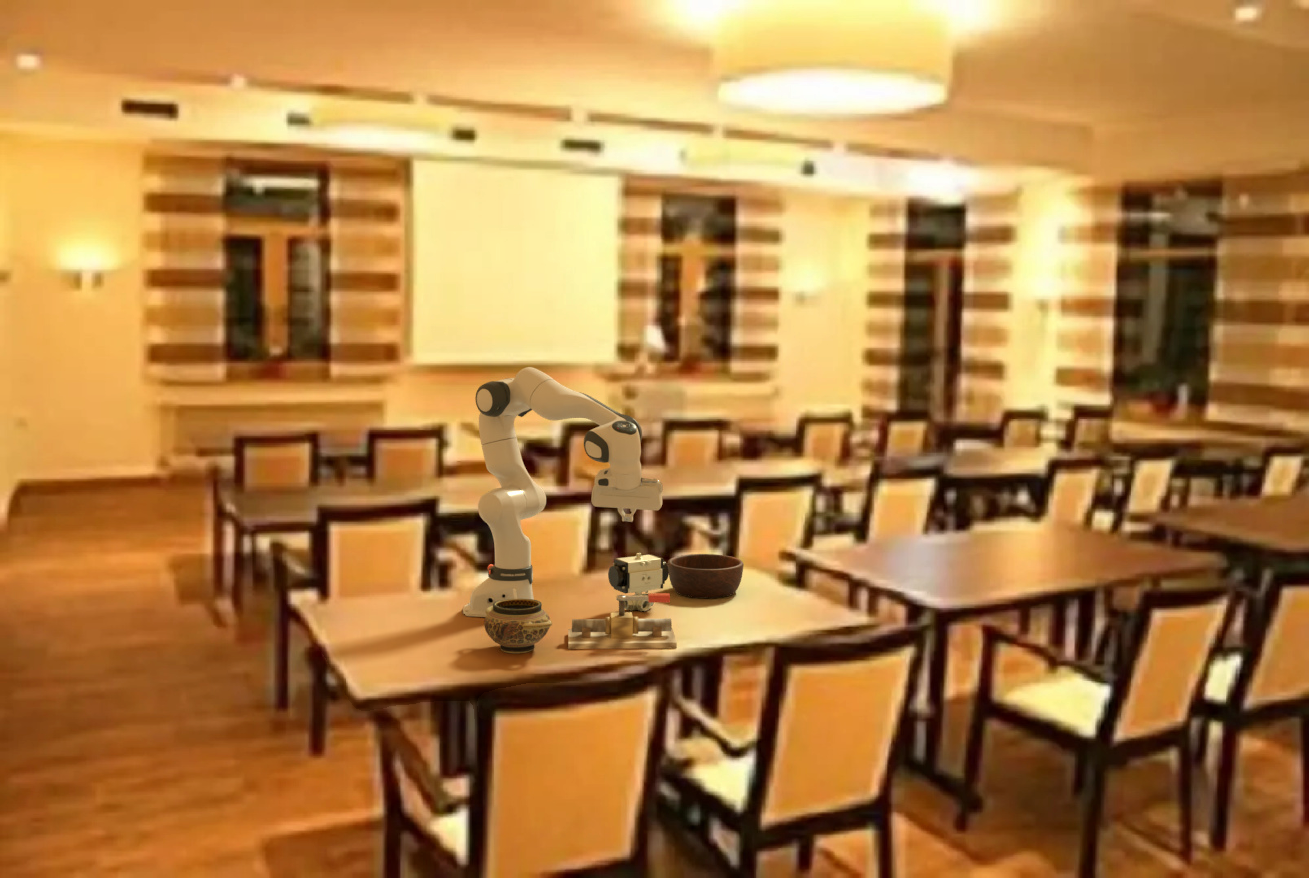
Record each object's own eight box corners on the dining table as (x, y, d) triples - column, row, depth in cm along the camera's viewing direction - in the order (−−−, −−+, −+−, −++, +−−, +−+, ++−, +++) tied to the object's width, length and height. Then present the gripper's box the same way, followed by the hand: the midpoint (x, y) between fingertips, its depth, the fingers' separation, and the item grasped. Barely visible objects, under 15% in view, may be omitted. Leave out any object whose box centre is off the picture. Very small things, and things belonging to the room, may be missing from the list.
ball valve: (621, 616, 384) (621, 559, 382) (607, 610, 391) (607, 553, 389) (671, 609, 393) (671, 553, 391) (656, 603, 400) (657, 548, 398)
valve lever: (616, 602, 354) (616, 595, 354) (616, 600, 357) (616, 593, 357) (669, 602, 355) (669, 595, 354) (669, 599, 358) (669, 593, 357)
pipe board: (568, 648, 348) (568, 608, 347) (568, 634, 363) (568, 595, 362) (676, 647, 350) (677, 607, 349) (672, 633, 365) (672, 594, 364)
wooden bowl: (652, 593, 413) (652, 562, 412) (694, 579, 434) (694, 550, 432) (717, 605, 399) (717, 573, 398) (757, 590, 419) (757, 559, 418)
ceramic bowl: (563, 664, 343) (574, 609, 344) (511, 660, 332) (522, 603, 332) (511, 645, 362) (522, 593, 362) (460, 640, 350) (471, 587, 351)
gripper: (664, 474, 358) (665, 518, 363) (593, 470, 361) (595, 513, 367) (660, 484, 352) (661, 528, 357) (588, 479, 355) (591, 523, 361)
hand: (627, 520), depth 362 cm, fingers closed
